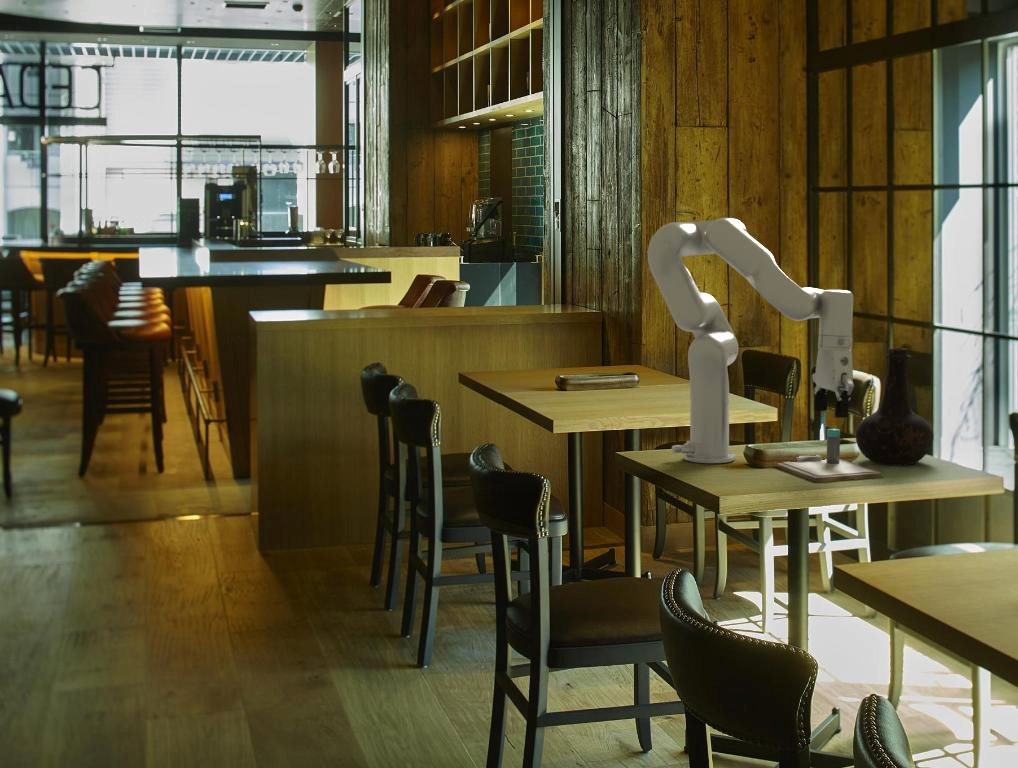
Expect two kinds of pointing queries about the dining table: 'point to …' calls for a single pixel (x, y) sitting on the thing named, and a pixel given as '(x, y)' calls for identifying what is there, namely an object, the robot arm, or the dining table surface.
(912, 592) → the dining table surface
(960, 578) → the dining table surface
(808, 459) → the writing board
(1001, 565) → the dining table surface
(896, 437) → the glass bottle
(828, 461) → the marker
